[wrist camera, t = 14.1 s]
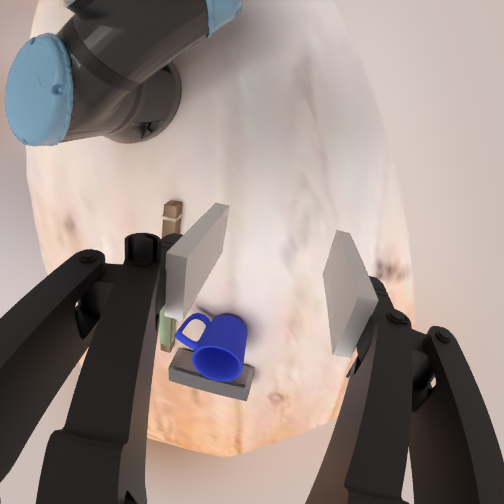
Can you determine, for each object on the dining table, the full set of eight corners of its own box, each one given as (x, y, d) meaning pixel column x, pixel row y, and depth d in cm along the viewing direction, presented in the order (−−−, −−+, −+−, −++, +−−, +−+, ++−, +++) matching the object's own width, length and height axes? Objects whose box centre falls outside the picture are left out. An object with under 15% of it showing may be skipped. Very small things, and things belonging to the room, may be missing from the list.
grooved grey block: (178, 360, 59) (168, 380, 53) (178, 346, 57) (168, 365, 51) (251, 379, 58) (246, 401, 52) (255, 365, 56) (250, 387, 51)
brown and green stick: (164, 342, 57) (159, 350, 55) (169, 200, 44) (162, 204, 42) (174, 345, 57) (170, 353, 55) (183, 202, 44) (176, 207, 42)
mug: (203, 288, 50) (184, 323, 41) (260, 325, 52) (252, 364, 42) (183, 316, 53) (163, 351, 44) (236, 350, 55) (225, 388, 46)
